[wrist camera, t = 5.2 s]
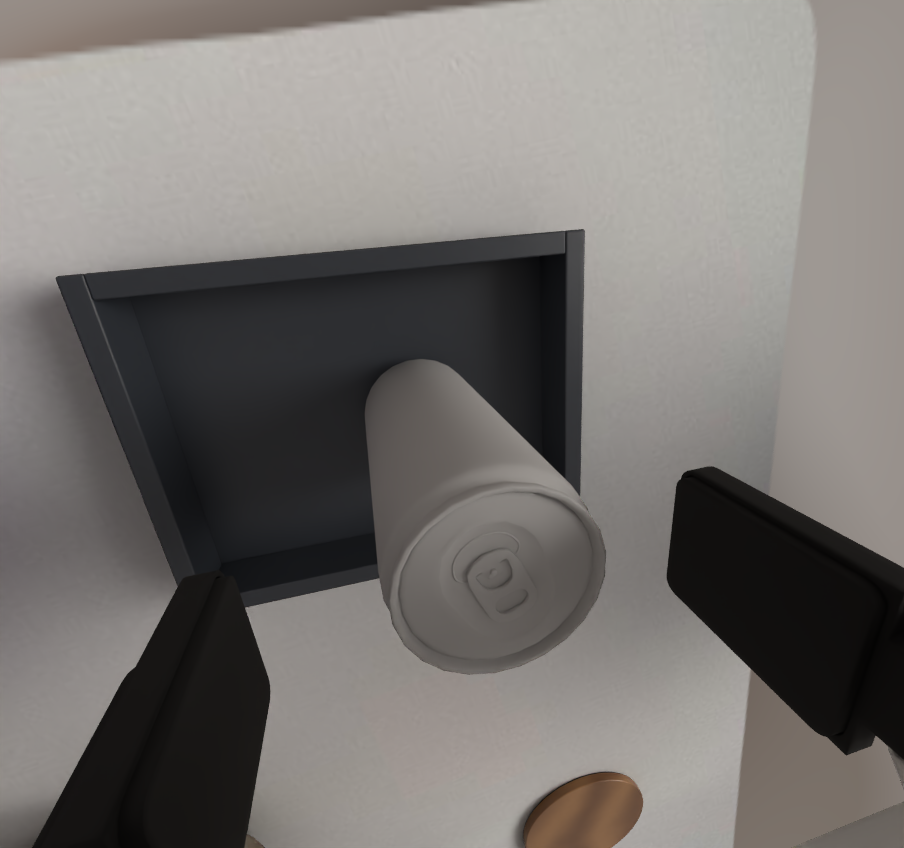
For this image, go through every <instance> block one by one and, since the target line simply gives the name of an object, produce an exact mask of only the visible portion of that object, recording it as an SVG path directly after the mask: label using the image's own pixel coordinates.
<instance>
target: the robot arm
mask: <svg viewBox="0 0 904 848" xmlns="http://www.w3.org/2000/svg"><path fill="white" fill-rule="evenodd" d="M667 581H668V584H669V587H670V588H671V590H672V591H673V592H674V594H675V595H676V596H677V597H678V598H679V599H680V600H681V601H683V602H684V603H685V604H686V605H687V606H688V607H689V608H690V609H691V610H692V611H693V612H694V613H695V614H696V615H697V616H698V617H699V618H700V619H701V620H702V621H703V622H704V623H705V624H706V625H707V626H708V627H709V628H710V629H711V630H712V631H713V632H714V633H715V634H716V635H717V636H718V637H719V638H720V639H721V640H722V641H723V642H724V643H725V644H726V645H727V646H728V647H729V648H730V649H731V650H732V651H733V652H734V653H735V654H736V655H737V656H738V657H739V658H740V659H741V660H742V661H743V662H744V663H746V664H747V665H748V666H749V667H750V668H751V669H752V670H753V671H754V672H755V673H756V674H757V675H758V676H759V677H760V678H761V679H762V680H763V681H764V682H765V683H766V684H767V685H768V686H769V687H770V688H771V689H772V690H773V691H774V692H775V693H776V694H777V695H778V696H779V697H780V698H781V699H782V700H783V701H784V702H785V703H786V704H787V705H788V706H789V707H790V708H791V709H792V710H793V711H794V712H795V713H796V714H797V715H798V716H799V717H801V719H802V720H803V721H805V723H807V725H809V726H810V727H811V728H812V729H813V730H814V731H815V732H817V733H818V734H820V735H822V736H826V737H828V738H829V739H830V740H831V741H832V742H833V743H834V744H835V745H836V746H837V747H838V748H839V749H840V750H841V751H842V752H843V753H844V754H845V755H848V754H851V753H854V752H857V751H859V750H861V749H864V748H867V747H870V746H871V745H872V743H873V741H874V738H875V736H877V737H878V738H880V739H881V740H882V741H883V742H884V743H885V744H886V745H887V746H888V750H889V753H890V755H891V758H892V760H893V763H894V766H895V768H896V771H897V773H898V776H899V778H900V781H901V783H902V786H903V789H904V568H903V567H901V566H899V565H898V564H896V563H894V562H892V561H890V560H888V559H886V558H884V557H883V556H881V555H879V554H876V553H875V552H873V551H871V550H869V549H867V548H865V547H864V546H862V545H860V544H858V543H856V542H854V541H853V540H851V539H849V538H847V537H845V536H843V535H841V534H839V533H837V532H836V531H834V530H832V529H830V528H828V527H826V526H824V525H823V524H821V523H819V522H817V521H815V520H813V519H811V518H810V517H808V516H806V515H804V514H802V513H800V512H798V511H796V510H794V509H793V508H791V507H789V506H787V505H785V504H783V503H781V502H779V501H778V500H776V499H774V498H772V497H770V496H768V495H766V494H765V493H763V492H761V491H759V490H757V489H755V488H753V487H751V486H750V485H748V484H746V483H744V482H742V481H740V480H738V479H737V478H735V477H733V476H731V475H729V474H727V473H725V472H723V471H722V470H720V469H718V468H715V467H704V468H699V469H694V470H690V471H687V472H685V473H684V474H683V475H682V477H681V480H679V481H678V483H677V486H676V494H675V503H674V513H673V522H672V531H671V540H670V549H669V558H668V568H667ZM269 703H270V682H269V678H268V675H267V672H266V669H265V666H264V663H263V660H262V657H261V654H260V651H259V648H258V645H257V642H256V639H255V636H254V633H253V630H252V628H251V625H250V622H249V619H248V616H247V613H246V610H245V607H244V604H243V601H242V598H241V595H240V592H239V589H238V586H237V583H236V580H235V578H234V577H233V576H226V577H225V576H224V574H223V573H222V572H221V571H219V570H216V571H211V572H206V573H201V574H197V575H192V576H187V577H185V578H183V579H182V581H181V582H180V584H179V586H178V587H177V589H176V591H175V593H174V595H173V597H172V599H171V601H170V603H169V605H168V606H167V608H166V610H165V612H164V614H163V616H162V618H161V620H160V622H159V624H158V625H157V627H156V629H155V631H154V633H153V635H152V637H151V639H150V641H149V643H148V644H147V646H146V648H145V650H144V652H143V654H142V656H141V658H140V660H139V662H138V663H137V665H136V667H135V668H134V669H133V670H131V671H130V672H129V673H128V674H127V675H126V677H125V678H124V680H123V681H122V683H121V685H120V686H119V688H118V690H117V692H116V694H115V696H114V697H113V699H112V701H111V703H110V705H109V707H108V709H107V710H106V712H105V714H104V716H103V718H102V720H101V722H100V723H99V725H98V727H97V729H96V731H95V733H94V734H93V736H92V738H91V740H90V742H89V744H88V746H87V747H86V749H85V751H84V753H83V755H82V757H81V759H80V760H79V762H78V764H77V766H76V768H75V770H74V771H73V773H72V775H71V777H70V779H69V781H68V783H67V784H66V786H65V788H64V790H63V792H62V794H61V796H60V797H59V799H58V801H57V803H56V805H55V807H54V808H53V810H52V812H51V814H50V816H49V818H48V820H47V821H46V823H45V825H44V827H43V829H42V831H41V833H40V834H39V836H38V838H37V840H36V842H35V844H34V845H33V847H32V848H244V847H245V841H246V836H247V830H248V824H249V818H250V813H251V807H252V801H253V795H254V790H255V784H256V778H257V772H258V767H259V761H260V755H261V749H262V744H263V738H264V732H265V726H266V720H267V715H268V709H269ZM792 848H904V802H902V803H899V804H897V805H894V806H892V807H890V808H887V809H885V810H883V811H880V812H877V813H875V814H872V815H870V816H867V817H865V818H863V819H860V820H858V821H855V822H853V823H850V824H848V825H845V826H843V827H840V828H838V829H836V830H833V831H831V832H828V833H826V834H823V835H821V836H819V837H816V838H814V839H811V840H809V841H806V842H804V843H802V844H799V845H797V846H794V847H792Z"/></svg>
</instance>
